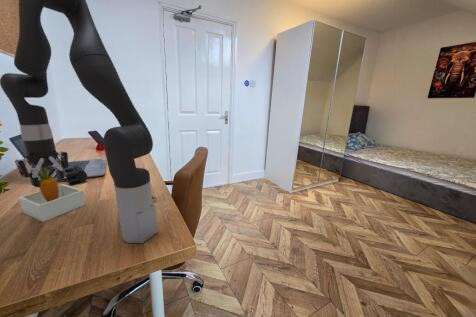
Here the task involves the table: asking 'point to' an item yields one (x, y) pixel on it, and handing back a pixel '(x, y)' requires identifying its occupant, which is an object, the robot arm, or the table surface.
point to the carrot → (48, 186)
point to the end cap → (75, 175)
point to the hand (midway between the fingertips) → (49, 183)
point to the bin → (52, 203)
